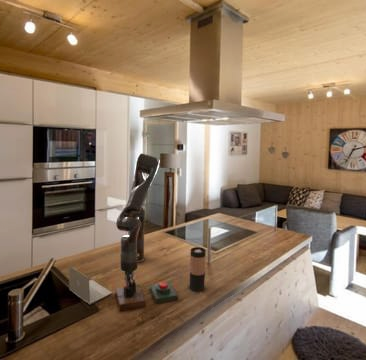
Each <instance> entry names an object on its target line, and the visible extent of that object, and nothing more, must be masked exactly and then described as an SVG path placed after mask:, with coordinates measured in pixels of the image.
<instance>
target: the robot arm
mask: <svg viewBox="0 0 366 360" xmlns="http://www.w3.org/2000/svg"><path fill="white" fill-rule="evenodd" d="M159 166H160V159H159V158H158V157H156V156H153V155H150V154H147V153H139V154H138V156H137V157H136V161H135V165H134V176H133V182H132V184H131V185H132V186H131V190H130V194H129V198H128V199H127V203H126V205H125V206H124V208H123V210H121V212H120V214H119V215H118V217H117V219H116V224H115V225H116V226H115V227H116V228H117V229H118V230H119V231H121V232H128V234H127V235H123V236H121V238H120V257H119V258H120V270H121V271H122V272H123V274H124V281H125V285H127V289H128V297H132V296H133V290H134V283H136V282H135V281H136V279H135V273H134V272H135V271H137V269H138V263H142V262H143V261H145V221H146V220H145V219H146V210H145V207H143V206H144V203H145V201H146V199H147V198H148V195H149V191H150V188H151V186H152V183H153V182H154V179H155V176H156V175H157V172H158V169H159ZM144 174H146V175H147V176H146V178H145V176H144Z"/></svg>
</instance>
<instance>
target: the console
mask: <svg viewBox="0 0 366 360" xmlns="http://www.w3.org/2000/svg"><path fill="white" fill-rule="evenodd" d="M115 295H116V300H117V305H118V309H119V312H121V311H122V312H123V311H128V310H133V309H138V308H144V307H145V306H146V299H145V297H144V295H143V292H142V290H141V287H140V284H136V292H135V293H133V296H132V297H128V296H127V297H125V296H124V286H122V287H115Z"/></svg>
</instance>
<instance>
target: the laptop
mask: <svg viewBox="0 0 366 360" xmlns="http://www.w3.org/2000/svg"><path fill="white" fill-rule="evenodd" d="M68 287H69V288H68V289H69V291H70V292H72V293H73V294H75V295H76V296H77V297H79V298H80V299H81V300H83V302H85V303H87V304H88V305H92V304H95V303H96V302H98V301H100V300H102V299H104V298H106V297H108V296H110V295H112V294H113V292H112V291H111V290H109V289H107V288H105V286H103V285H101V284H99V283H98V282H96V281H95V280H93V279H90V277H88V276H87V275H86V274H83V273H82V272H81V271H79V270H77V269H76V268H74V267H73V266H71V265H68Z"/></svg>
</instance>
